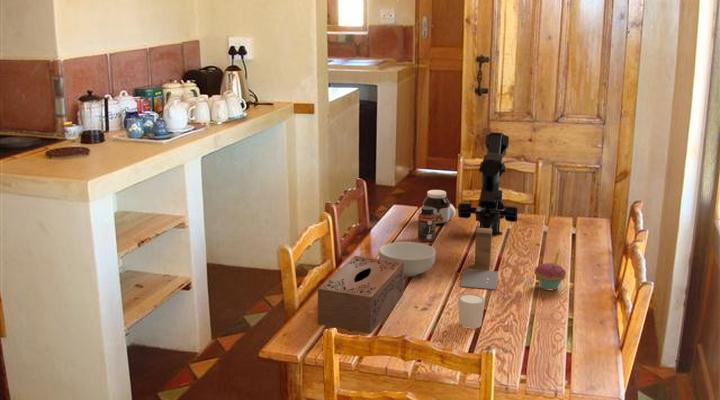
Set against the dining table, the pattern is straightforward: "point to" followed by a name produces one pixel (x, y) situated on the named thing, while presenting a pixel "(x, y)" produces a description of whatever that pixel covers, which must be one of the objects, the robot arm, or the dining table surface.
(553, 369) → the dining table surface
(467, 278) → the felt mat
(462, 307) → the white cup
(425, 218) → the supplement bottle
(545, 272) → the cupcake
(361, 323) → the tissue box cover
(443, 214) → the spread jar
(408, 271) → the cereal bowl
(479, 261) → the walnut block
